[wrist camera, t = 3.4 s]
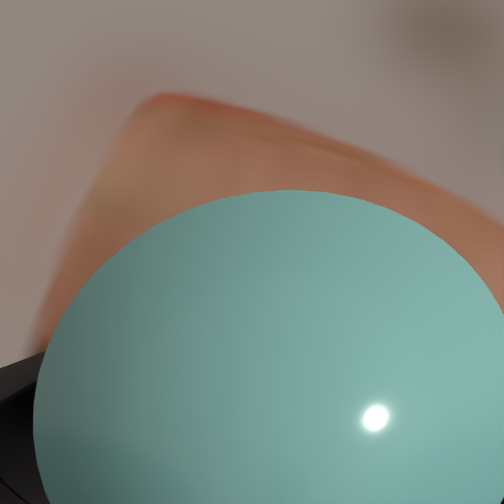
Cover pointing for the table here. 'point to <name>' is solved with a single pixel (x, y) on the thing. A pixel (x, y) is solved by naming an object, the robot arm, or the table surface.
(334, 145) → the table surface
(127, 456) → the teal cylinder
